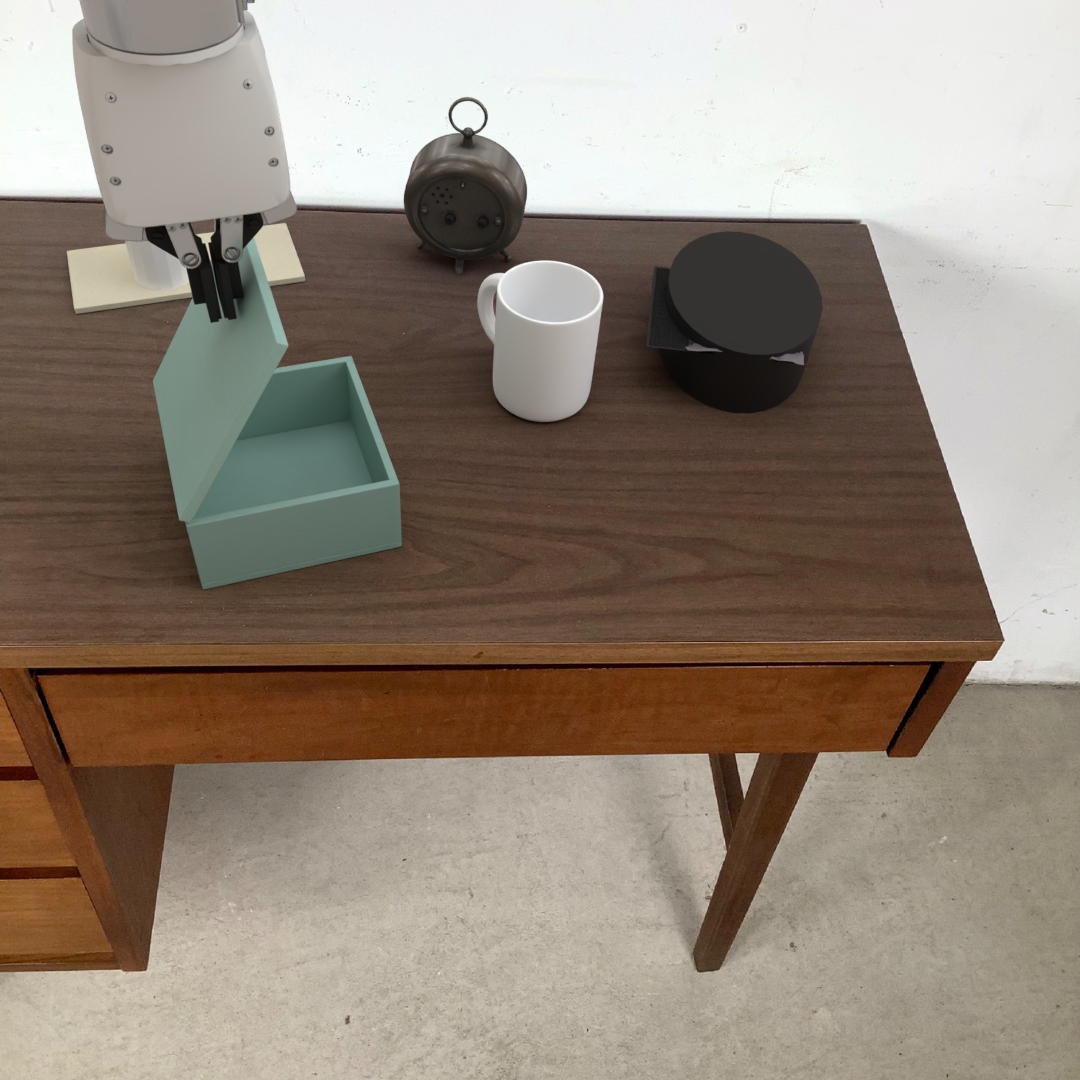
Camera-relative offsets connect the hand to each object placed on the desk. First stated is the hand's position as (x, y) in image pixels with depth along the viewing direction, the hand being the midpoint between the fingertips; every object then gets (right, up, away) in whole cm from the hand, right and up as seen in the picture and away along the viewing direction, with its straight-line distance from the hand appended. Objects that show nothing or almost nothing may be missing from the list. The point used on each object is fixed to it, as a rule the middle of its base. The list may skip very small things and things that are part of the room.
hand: (220, 307), depth 66 cm
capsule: (-14, +9, +30) cm, 35 cm away
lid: (-1, -3, +3) cm, 5 cm away
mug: (+19, -1, +25) cm, 31 cm away
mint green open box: (+1, -11, +14) cm, 18 cm away
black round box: (+36, +3, +30) cm, 47 cm away
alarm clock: (+12, +12, +36) cm, 40 cm away
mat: (-13, +10, +32) cm, 36 cm away
